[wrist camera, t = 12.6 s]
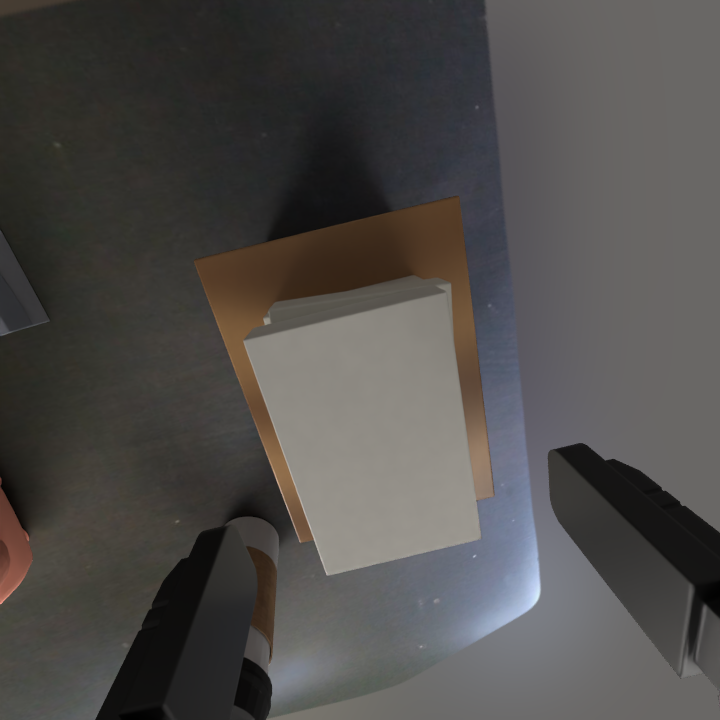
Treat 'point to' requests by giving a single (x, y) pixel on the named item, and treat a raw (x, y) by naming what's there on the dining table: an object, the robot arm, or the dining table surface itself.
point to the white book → (372, 426)
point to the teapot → (12, 549)
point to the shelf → (339, 274)
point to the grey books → (16, 295)
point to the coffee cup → (258, 621)
